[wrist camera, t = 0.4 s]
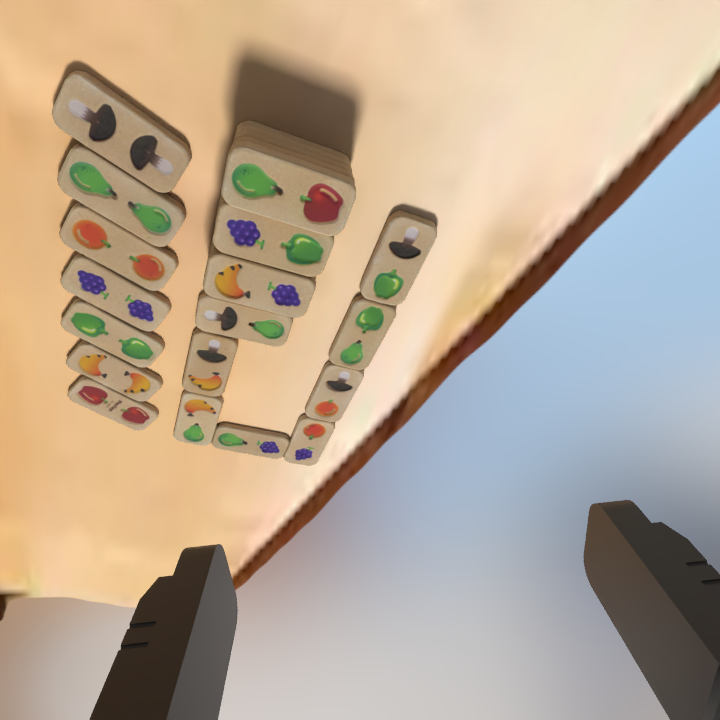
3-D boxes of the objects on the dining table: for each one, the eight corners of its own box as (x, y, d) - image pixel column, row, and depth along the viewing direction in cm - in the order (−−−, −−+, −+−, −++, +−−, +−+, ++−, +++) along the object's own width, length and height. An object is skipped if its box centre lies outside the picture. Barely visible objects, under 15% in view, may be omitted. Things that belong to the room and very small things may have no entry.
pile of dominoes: (56, 45, 29) (14, 67, 25) (455, 190, 37) (473, 224, 33) (64, 417, 50) (43, 462, 46) (317, 459, 58) (317, 500, 54)
